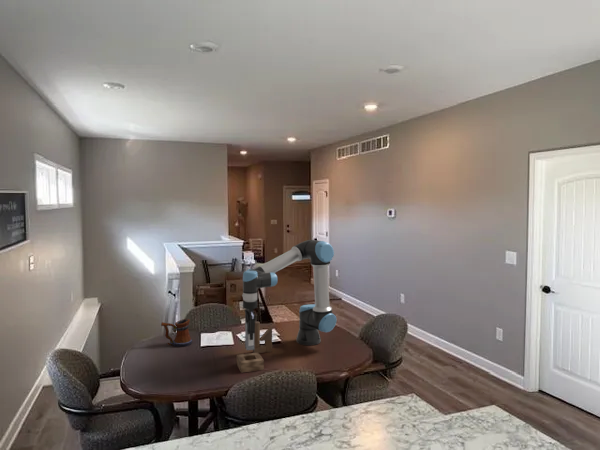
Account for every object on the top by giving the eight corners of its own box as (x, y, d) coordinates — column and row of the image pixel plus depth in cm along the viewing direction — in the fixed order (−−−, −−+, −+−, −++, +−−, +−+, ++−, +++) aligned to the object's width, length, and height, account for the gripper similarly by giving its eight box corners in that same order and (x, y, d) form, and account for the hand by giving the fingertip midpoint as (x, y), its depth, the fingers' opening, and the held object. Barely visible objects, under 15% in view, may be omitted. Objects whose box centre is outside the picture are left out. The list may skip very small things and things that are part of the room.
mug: (161, 349, 250) (161, 324, 249) (161, 342, 261) (161, 318, 260) (192, 346, 256) (192, 321, 255) (191, 340, 267) (191, 316, 266)
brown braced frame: (272, 351, 247) (272, 321, 246) (254, 354, 244) (254, 323, 242) (270, 349, 251) (270, 319, 250) (252, 352, 247) (252, 321, 246)
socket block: (258, 361, 233) (258, 352, 233) (263, 369, 222) (263, 360, 221) (236, 364, 229) (236, 355, 228) (241, 372, 218) (241, 363, 217)
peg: (252, 347, 227) (252, 321, 226) (254, 349, 223) (254, 323, 223) (245, 347, 226) (245, 322, 225) (246, 350, 222) (247, 324, 221)
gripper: (239, 297, 230) (239, 339, 231) (246, 304, 214) (246, 350, 215) (253, 296, 232) (252, 338, 234) (261, 303, 216) (260, 348, 218)
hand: (249, 343), depth 224 cm, fingers closed on peg, 4 cm apart
